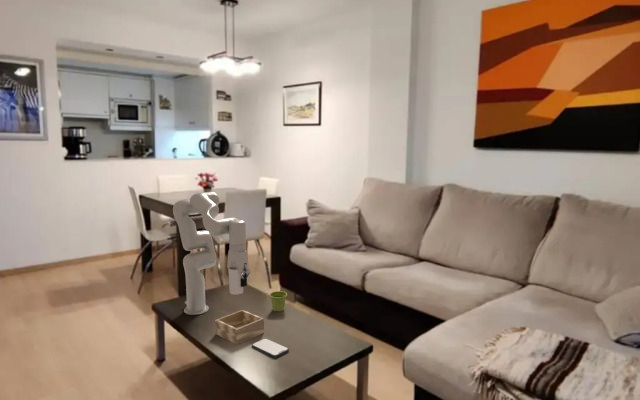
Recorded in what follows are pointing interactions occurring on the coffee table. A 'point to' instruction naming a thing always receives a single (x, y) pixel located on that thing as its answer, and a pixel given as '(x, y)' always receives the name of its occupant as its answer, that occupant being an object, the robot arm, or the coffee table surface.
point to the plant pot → (278, 300)
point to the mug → (235, 282)
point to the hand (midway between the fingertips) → (238, 284)
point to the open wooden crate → (239, 326)
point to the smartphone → (270, 348)
